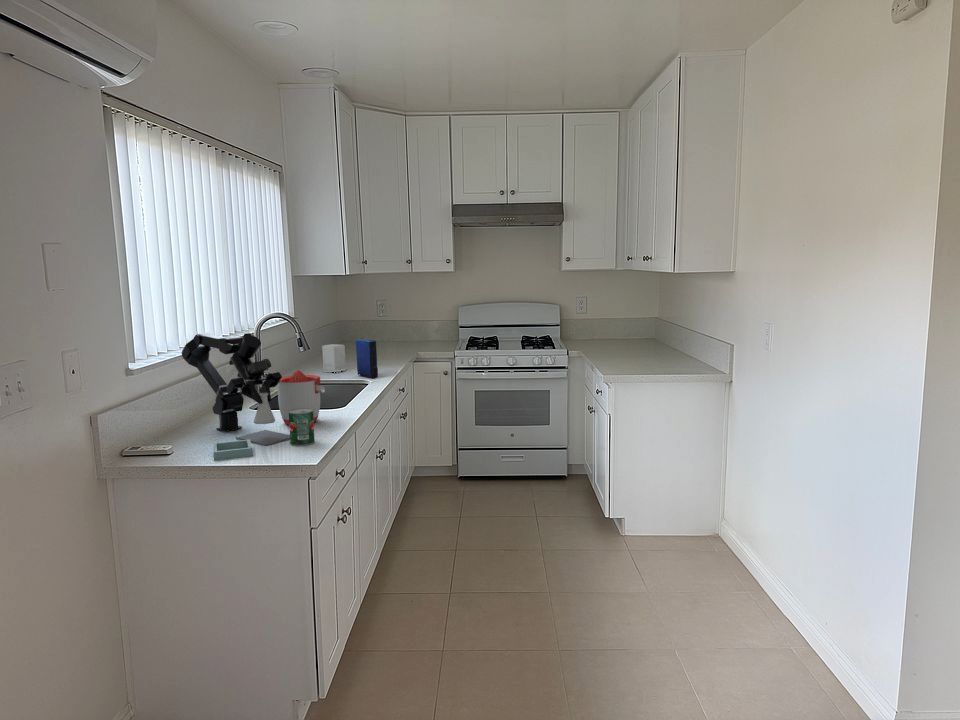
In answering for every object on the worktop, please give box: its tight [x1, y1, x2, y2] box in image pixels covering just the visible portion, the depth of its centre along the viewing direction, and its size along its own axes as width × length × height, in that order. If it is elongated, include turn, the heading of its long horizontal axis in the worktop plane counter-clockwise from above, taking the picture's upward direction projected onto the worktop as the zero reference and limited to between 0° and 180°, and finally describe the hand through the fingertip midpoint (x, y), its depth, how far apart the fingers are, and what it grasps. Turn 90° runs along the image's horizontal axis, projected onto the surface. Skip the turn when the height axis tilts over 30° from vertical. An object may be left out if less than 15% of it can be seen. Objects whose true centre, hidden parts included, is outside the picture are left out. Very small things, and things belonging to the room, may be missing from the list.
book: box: [355, 338, 379, 379], centre depth 337 cm, size 14×5×20 cm, turn 43°
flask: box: [253, 392, 276, 425], centre depth 217 cm, size 7×7×10 cm
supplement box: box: [321, 343, 347, 374], centre depth 356 cm, size 9×9×15 cm
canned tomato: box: [288, 408, 316, 447], centre depth 212 cm, size 8×8×11 cm
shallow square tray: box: [212, 439, 254, 461], centre depth 201 cm, size 11×11×2 cm
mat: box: [235, 429, 290, 447], centre depth 219 cm, size 16×12×1 cm
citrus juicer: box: [277, 369, 326, 426], centre depth 239 cm, size 16×17×20 cm
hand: (265, 402), depth 216 cm, fingers closed on flask, 3 cm apart
